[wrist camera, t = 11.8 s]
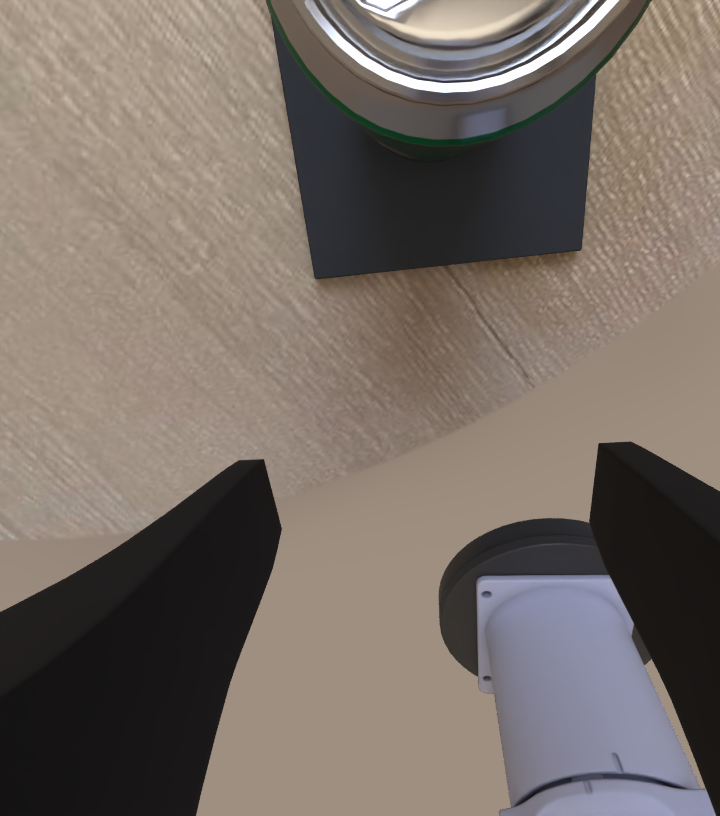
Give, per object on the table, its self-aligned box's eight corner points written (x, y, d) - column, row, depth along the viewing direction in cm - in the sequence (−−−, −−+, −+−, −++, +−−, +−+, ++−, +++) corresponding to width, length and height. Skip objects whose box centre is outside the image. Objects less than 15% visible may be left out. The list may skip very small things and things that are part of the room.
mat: (577, 248, 17) (582, 250, 17) (316, 277, 19) (314, 279, 18) (616, -237, 12) (623, -253, 11) (248, -141, 13) (242, -151, 13)
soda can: (328, 27, 15) (90, -369, 4) (485, -70, 13) (779, -1094, 3) (389, 189, 16) (341, 217, 6) (532, 119, 15) (812, -11, 4)
